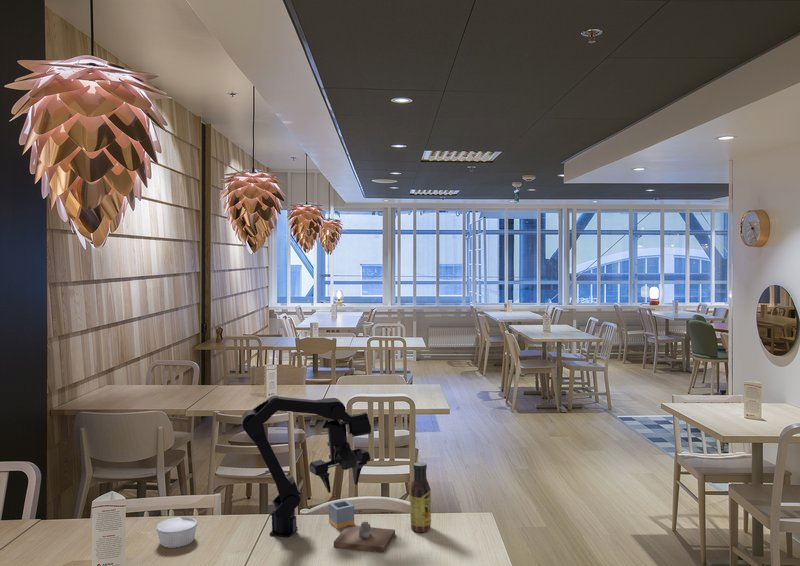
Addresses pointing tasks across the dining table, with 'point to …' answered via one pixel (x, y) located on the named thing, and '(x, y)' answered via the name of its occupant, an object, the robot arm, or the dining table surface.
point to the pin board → (364, 538)
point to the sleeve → (341, 514)
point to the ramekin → (176, 531)
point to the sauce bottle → (420, 499)
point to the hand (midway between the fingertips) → (342, 488)
